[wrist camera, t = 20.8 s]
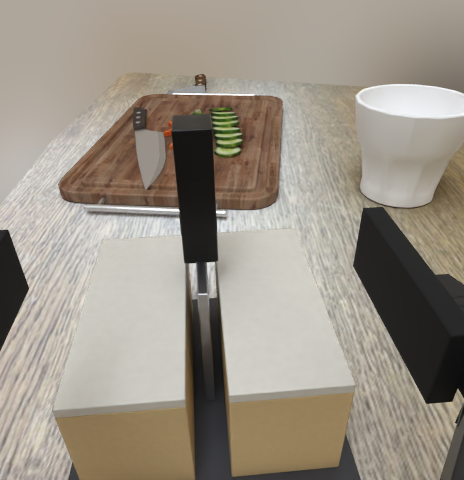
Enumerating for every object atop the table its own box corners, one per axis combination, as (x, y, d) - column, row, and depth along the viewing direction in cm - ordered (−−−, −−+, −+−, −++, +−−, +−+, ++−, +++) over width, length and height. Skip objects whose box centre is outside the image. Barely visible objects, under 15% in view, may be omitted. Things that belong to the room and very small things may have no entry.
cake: (360, 488, 24) (385, 401, 20) (62, 517, 23) (21, 433, 19) (298, 296, 37) (305, 219, 33) (108, 309, 36) (90, 232, 32)
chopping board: (276, 222, 47) (277, 197, 46) (41, 212, 50) (33, 188, 48) (282, 99, 84) (283, 82, 82) (147, 97, 87) (145, 81, 85)
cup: (448, 176, 56) (473, 87, 50) (455, 225, 46) (487, 122, 40) (349, 164, 59) (360, 80, 53) (336, 207, 50) (349, 111, 44)
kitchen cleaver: (170, 76, 99) (214, 73, 99) (170, 81, 100) (214, 77, 100) (160, 110, 79) (215, 106, 79) (161, 116, 80) (216, 111, 80)
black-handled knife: (226, 399, 28) (215, 150, 19) (195, 402, 28) (169, 153, 19) (218, 314, 35) (208, 98, 25) (193, 315, 35) (173, 100, 25)
